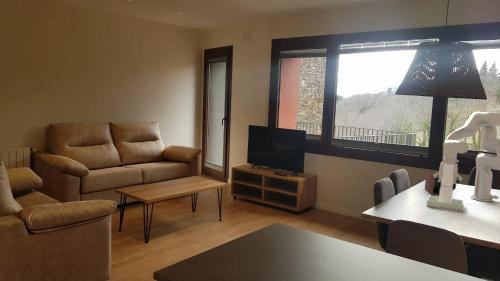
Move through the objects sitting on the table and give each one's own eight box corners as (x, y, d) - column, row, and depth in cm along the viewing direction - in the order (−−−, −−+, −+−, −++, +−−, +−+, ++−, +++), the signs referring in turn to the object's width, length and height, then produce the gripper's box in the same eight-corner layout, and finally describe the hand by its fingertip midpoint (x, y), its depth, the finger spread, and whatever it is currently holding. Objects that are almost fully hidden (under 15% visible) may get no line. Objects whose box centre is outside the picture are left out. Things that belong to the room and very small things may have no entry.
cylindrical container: (451, 201, 238) (455, 163, 235) (451, 204, 232) (455, 164, 229) (438, 200, 241) (442, 161, 238) (439, 203, 235) (442, 163, 232)
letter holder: (431, 195, 263) (433, 176, 262) (424, 189, 283) (426, 170, 281) (447, 197, 261) (449, 177, 260) (438, 190, 281) (440, 171, 279)
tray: (462, 206, 238) (463, 200, 238) (463, 211, 226) (463, 205, 225) (427, 201, 247) (428, 195, 247) (426, 206, 235) (427, 200, 235)
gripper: (465, 161, 233) (462, 189, 235) (434, 158, 241) (431, 185, 243) (465, 163, 226) (462, 192, 228) (433, 160, 234) (430, 188, 236)
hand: (446, 188), depth 235 cm, fingers closed on cylindrical container, 7 cm apart
